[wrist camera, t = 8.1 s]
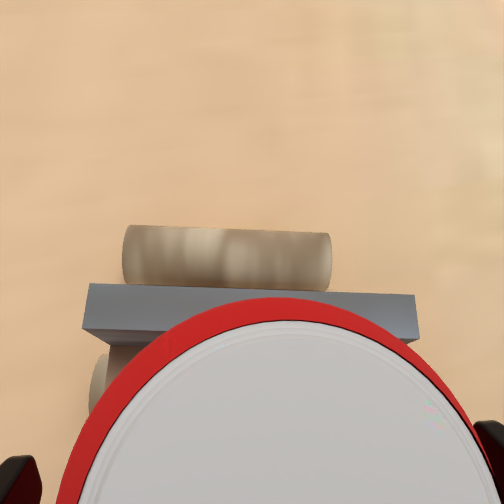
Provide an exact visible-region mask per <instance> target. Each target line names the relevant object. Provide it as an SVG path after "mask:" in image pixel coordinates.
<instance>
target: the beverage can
mask: <svg viewBox="0 0 504 504" xmlns="http://www.w3.org/2000/svg"><path fill="white" fill-rule="evenodd" d="M56 504H504V501H503V499H502V496H501V493H500V490H499V487H498V484H497V481H496V479H495V476H494V473H493V471H492V468H491V465H490V463H489V460H488V457H487V455H486V453H485V451H484V448H483V446H482V444H481V442H480V439H479V437H478V435H477V433H476V431H475V429H474V428H473V426H472V424H471V422H470V420H469V419H468V417H467V415H466V413H465V411H464V410H463V409H462V407H461V406H460V404H459V403H458V401H457V400H456V398H455V397H454V395H453V394H452V392H451V391H450V390H449V388H448V387H447V386H446V385H445V383H444V382H443V381H442V380H441V378H440V377H439V376H438V375H437V373H436V372H435V371H434V370H433V369H432V368H431V367H430V366H429V365H428V364H427V363H426V362H425V361H424V360H423V359H422V358H421V357H420V356H419V355H418V354H417V353H415V352H414V351H413V350H412V349H411V348H410V347H408V346H407V345H406V344H405V343H404V342H402V341H401V340H399V339H398V338H397V337H395V336H394V335H392V334H391V333H390V332H388V331H387V330H385V329H383V328H382V327H380V326H378V325H377V324H375V323H373V322H371V321H370V320H368V319H366V318H363V317H361V316H359V315H357V314H355V313H352V312H350V311H348V310H345V309H342V308H339V307H336V306H333V305H330V304H325V303H321V302H317V301H312V300H306V299H298V298H288V297H267V298H255V299H247V300H242V301H237V302H232V303H228V304H225V305H221V306H218V307H215V308H212V309H209V310H207V311H204V312H202V313H199V314H197V315H195V316H193V317H191V318H189V319H187V320H185V321H183V322H181V323H179V324H177V325H176V326H174V327H173V328H171V329H170V330H168V331H167V332H165V333H164V334H162V335H161V336H159V337H158V338H156V339H155V340H154V341H153V342H151V343H150V344H149V345H148V346H146V347H145V348H144V349H143V350H142V351H140V352H139V353H138V354H137V355H136V356H135V357H134V358H133V359H132V360H131V361H130V362H129V363H128V364H127V365H126V366H125V367H124V368H123V369H122V371H121V372H120V373H119V374H118V375H117V377H116V378H115V379H114V380H113V381H112V382H111V384H110V385H109V386H108V388H107V389H106V391H105V392H104V393H103V395H102V396H101V398H100V399H99V401H98V402H97V403H96V405H95V407H94V408H93V410H92V412H91V414H90V415H89V417H88V419H87V421H86V422H85V424H84V426H83V428H82V430H81V432H80V434H79V437H78V439H77V441H76V443H75V445H74V447H73V450H72V452H71V455H70V457H69V460H68V463H67V466H66V469H65V472H64V474H63V477H62V481H61V485H60V489H59V493H58V496H57V500H56Z"/></svg>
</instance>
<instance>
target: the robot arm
mask: <svg viewBox="0 0 504 504" xmlns="http://www.w3.org/2000/svg"><path fill="white" fill-rule="evenodd" d="M473 428H474V429H475V431H476V433H477V435H478V437H479V439H480V442H481V444H482V446H483V448H484V451H485V453H486V455H487V457H488V460H489V463H490V465H491V468H492V471H493V473H494V476H495V479H496V481H497V484H498V487H499V490H500V493H501V496H502V499H503V501H504V425H502V424H501V423H499V422H497V421H494V420H488V421H478V422H476V423H475V424H474V425H473ZM41 496H42V482H41V478H40V475H39V472H38V468H37V465H36V462H35V459H34V457H33V456H31V455H22V456H12V457H9V458H8V459H6V460H5V461H4V462H3V463H2V464H1V465H0V504H40V500H41Z"/></svg>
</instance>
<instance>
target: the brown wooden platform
mask: <svg viewBox="0 0 504 504" xmlns="http://www.w3.org/2000/svg"><path fill="white" fill-rule="evenodd" d="M267 297H288V298H298V299H306V300H312V301H317V302H321V303H325V304H330V305H333V306H336V307H339V308H342V309H345V310H348V311H350V312H352V313H355V314H357V315H359V316H361V317H363V318H366V319H368V320H370V321H371V322H373V323H375V324H377V325H378V326H380V327H382V328H383V329H385V330H387V331H388V332H390V333H391V334H392V335H394V336H395V337H397V338H398V339H399V340H401V341H402V342H404V343H405V344H408V343H410V342H413V341H416V340H418V339H420V336H419V328H418V320H417V312H416V304H415V296H414V295H403V294H375V293H347V292H319V291H291V290H263V289H235V288H207V287H179V286H151V285H123V284H95V283H90V284H89V289H88V295H87V301H86V307H85V313H84V319H83V325H82V329H84V330H85V331H87V332H89V333H91V334H92V335H94V336H96V337H97V338H99V339H101V340H102V341H104V342H106V343H107V344H109V345H110V352H109V355H106V354H104V355H102V356H101V357H100V358H99V360H98V361H97V364H96V366H95V369H94V372H93V376H92V380H91V385H90V393H89V415H90V414H91V412H92V410H93V408H94V407H95V405H96V403H97V402H98V401H99V399H100V398H101V396H102V395H103V393H104V392H105V391H106V389H107V388H108V386H109V385H110V384H111V382H112V381H113V380H114V379H115V378H116V377H117V375H118V374H119V373H120V372H121V371H122V369H123V368H124V367H125V366H126V365H127V364H128V363H129V362H130V361H131V360H132V359H133V358H134V357H135V356H136V355H137V354H138V353H139V352H140V351H142V350H143V349H144V348H145V347H146V346H148V345H149V344H150V343H151V342H153V341H154V340H155V339H156V338H158V337H159V336H161V335H162V334H164V333H165V332H167V331H168V330H170V329H171V328H173V327H174V326H176V325H177V324H179V323H181V322H183V321H185V320H187V319H189V318H191V317H193V316H195V315H197V314H199V313H202V312H204V311H207V310H209V309H212V308H215V307H218V306H221V305H225V304H228V303H232V302H237V301H242V300H247V299H255V298H267Z"/></svg>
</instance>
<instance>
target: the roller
mask: <svg viewBox="0 0 504 504" xmlns="http://www.w3.org/2000/svg"><path fill="white" fill-rule="evenodd" d="M122 268H123V275H124V279H125V282H126V283H127V284H141V285H169V286H197V287H225V288H253V289H281V290H309V291H326V290H327V288H328V286H329V283H330V278H331V271H332V245H331V240H330V236H329V234H328V233H312V232H289V231H265V230H241V229H217V228H193V227H170V226H146V225H129V226H128V228H127V230H126V233H125V237H124V242H123V250H122Z"/></svg>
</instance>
